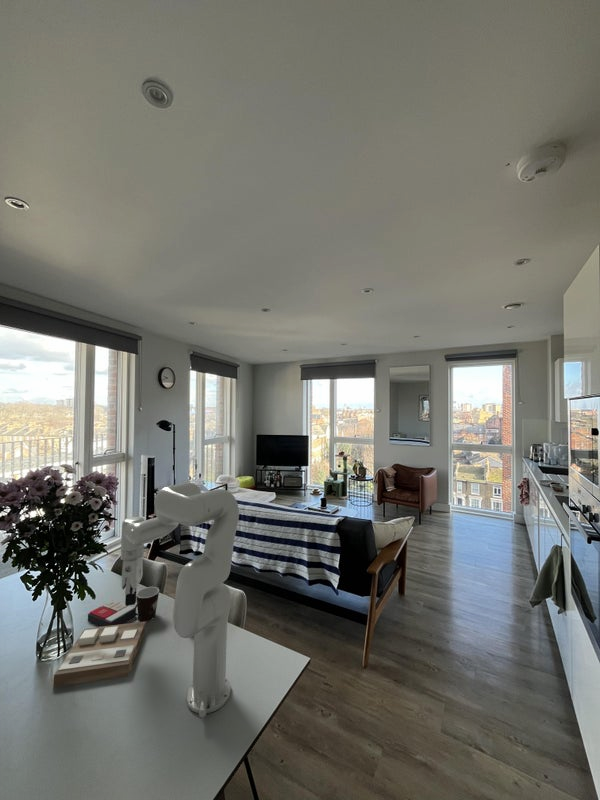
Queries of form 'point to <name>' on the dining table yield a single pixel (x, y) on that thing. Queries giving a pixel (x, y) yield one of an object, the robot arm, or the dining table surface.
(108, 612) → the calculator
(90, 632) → the button
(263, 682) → the dining table surface
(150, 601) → the coffee mug
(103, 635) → the button
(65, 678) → the board
